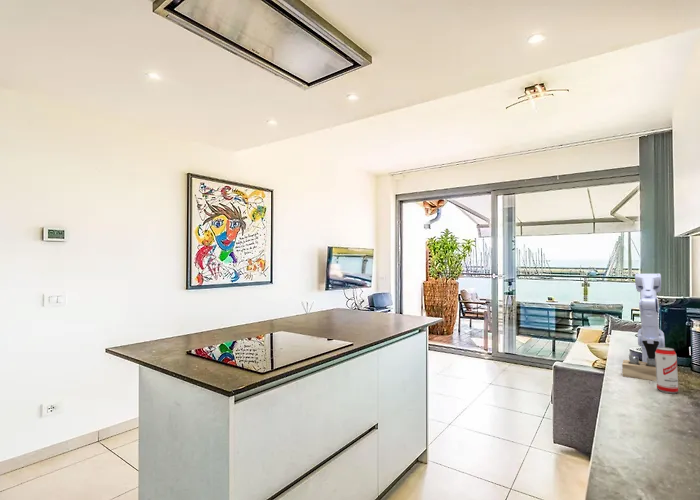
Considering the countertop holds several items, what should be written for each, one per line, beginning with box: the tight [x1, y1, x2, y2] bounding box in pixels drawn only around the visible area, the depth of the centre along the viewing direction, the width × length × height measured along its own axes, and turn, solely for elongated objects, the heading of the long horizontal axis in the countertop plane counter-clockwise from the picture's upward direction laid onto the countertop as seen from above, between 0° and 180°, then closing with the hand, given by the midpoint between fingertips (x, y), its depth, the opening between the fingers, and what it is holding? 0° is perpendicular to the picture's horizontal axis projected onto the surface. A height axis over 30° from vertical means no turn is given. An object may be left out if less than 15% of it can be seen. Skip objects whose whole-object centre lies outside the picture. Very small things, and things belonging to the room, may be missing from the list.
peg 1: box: [628, 355, 640, 365], centre depth 164 cm, size 3×3×5 cm
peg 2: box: [647, 358, 656, 367], centre depth 160 cm, size 3×3×5 cm
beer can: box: [655, 346, 679, 394], centre depth 143 cm, size 6×6×16 cm
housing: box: [621, 359, 657, 382], centre depth 163 cm, size 11×13×5 cm
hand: (651, 358), depth 161 cm, fingers closed
